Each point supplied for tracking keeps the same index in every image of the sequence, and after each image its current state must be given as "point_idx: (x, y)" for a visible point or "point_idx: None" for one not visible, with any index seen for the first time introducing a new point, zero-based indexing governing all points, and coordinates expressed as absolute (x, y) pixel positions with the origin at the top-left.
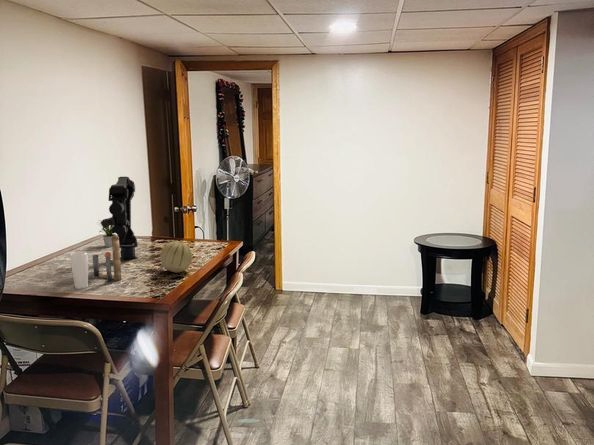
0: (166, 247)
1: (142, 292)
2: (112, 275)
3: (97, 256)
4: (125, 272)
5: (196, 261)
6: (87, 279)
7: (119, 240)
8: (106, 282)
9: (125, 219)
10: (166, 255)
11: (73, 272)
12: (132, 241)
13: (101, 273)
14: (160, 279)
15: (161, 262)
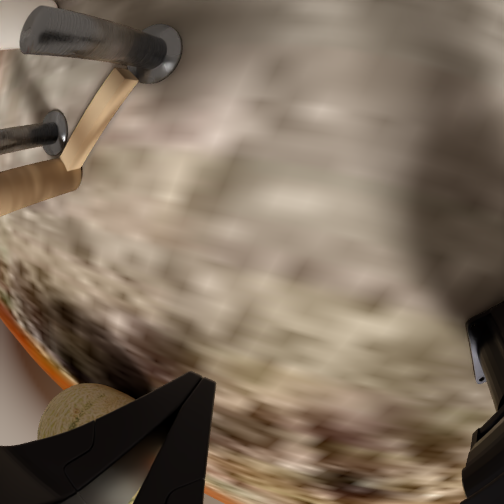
0: None
1: None
2: (65, 149)
3: (29, 51)
4: (176, 234)
5: (247, 489)
6: (7, 49)
7: (138, 399)
8: (47, 119)
9: None
10: (44, 414)
11: None
12: (463, 470)
13: (112, 82)
14: (61, 325)
15: (78, 391)
